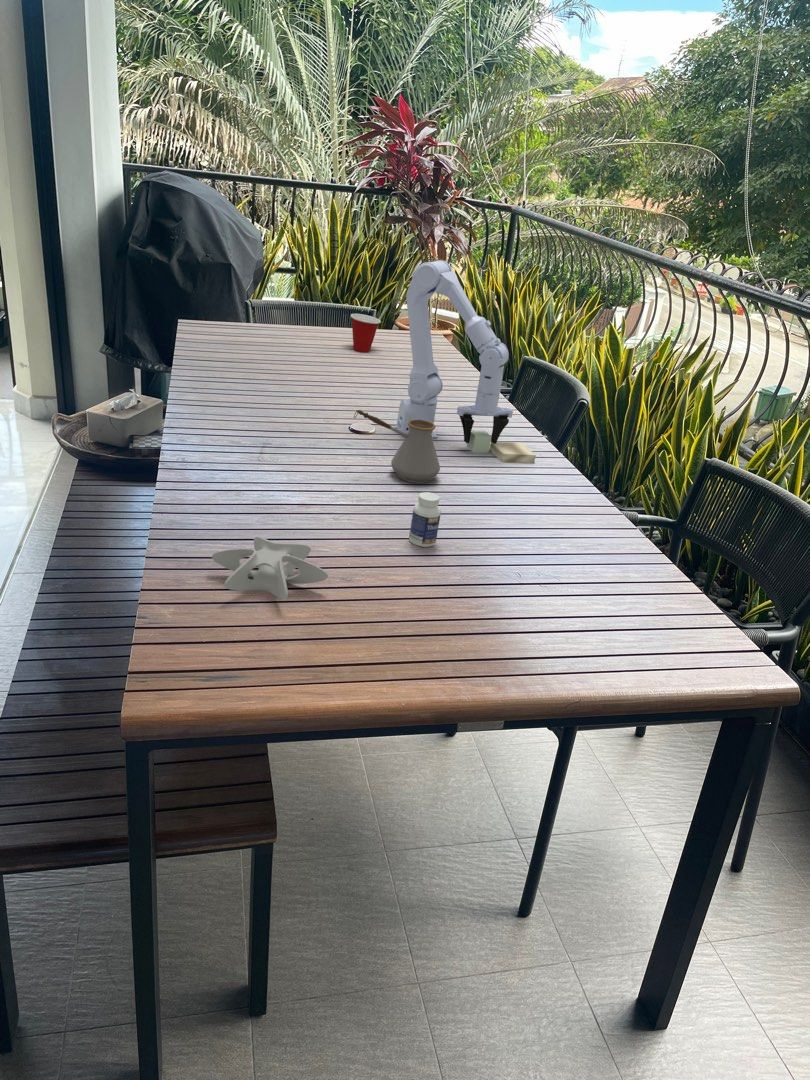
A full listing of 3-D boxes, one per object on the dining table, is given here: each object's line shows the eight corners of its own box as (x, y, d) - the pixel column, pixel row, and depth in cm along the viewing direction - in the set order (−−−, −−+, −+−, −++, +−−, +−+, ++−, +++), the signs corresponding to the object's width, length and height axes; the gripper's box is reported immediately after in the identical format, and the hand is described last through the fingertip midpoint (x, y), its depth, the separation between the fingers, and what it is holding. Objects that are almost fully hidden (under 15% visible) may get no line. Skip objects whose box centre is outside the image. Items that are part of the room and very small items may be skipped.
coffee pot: (433, 469, 202) (443, 409, 195) (442, 487, 191) (452, 425, 185) (345, 462, 198) (352, 401, 191) (349, 481, 187) (357, 417, 181)
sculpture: (230, 618, 131) (232, 583, 128) (204, 559, 147) (205, 526, 144) (336, 607, 138) (340, 574, 135) (300, 552, 154) (303, 521, 151)
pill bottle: (426, 550, 161) (434, 504, 157) (403, 541, 164) (410, 495, 159) (440, 541, 166) (448, 496, 161) (417, 532, 168) (424, 488, 164)
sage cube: (472, 452, 216) (475, 436, 214) (466, 446, 220) (469, 430, 218) (488, 453, 218) (491, 436, 216) (482, 446, 222) (485, 430, 220)
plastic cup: (376, 356, 294) (380, 322, 289) (346, 352, 294) (349, 317, 289) (377, 349, 304) (381, 316, 299) (348, 345, 304) (351, 311, 298)
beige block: (501, 464, 213) (503, 453, 212) (488, 452, 221) (491, 441, 219) (533, 466, 216) (535, 455, 214) (520, 453, 223) (522, 442, 222)
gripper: (466, 395, 207) (458, 447, 212) (520, 397, 211) (511, 448, 217) (457, 387, 213) (450, 437, 218) (510, 389, 217) (501, 439, 223)
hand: (479, 442), depth 218 cm, fingers open, 7 cm apart
